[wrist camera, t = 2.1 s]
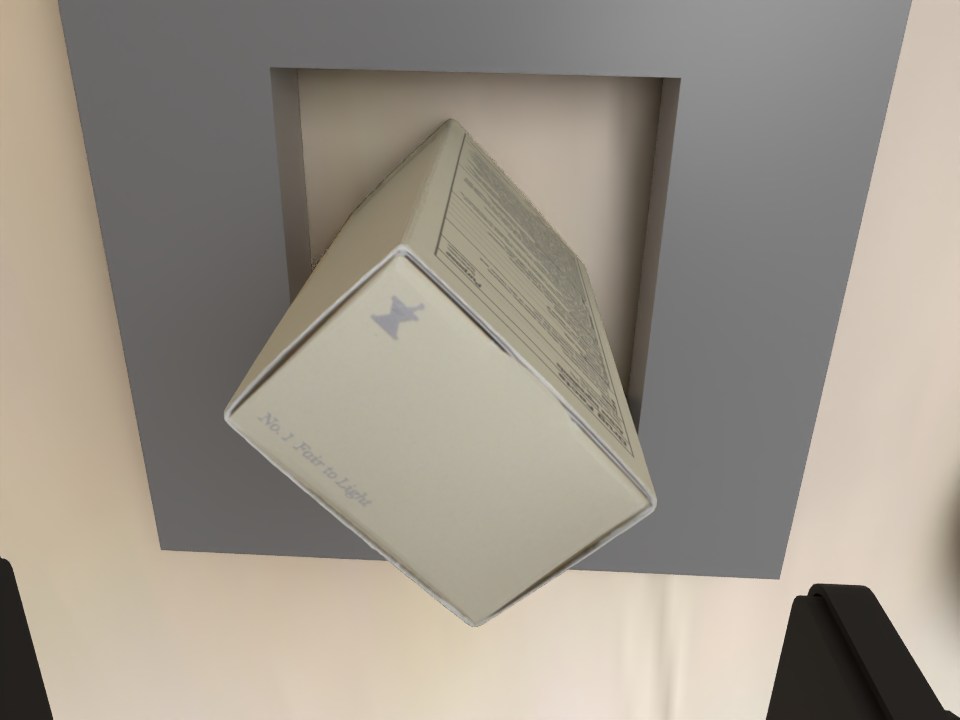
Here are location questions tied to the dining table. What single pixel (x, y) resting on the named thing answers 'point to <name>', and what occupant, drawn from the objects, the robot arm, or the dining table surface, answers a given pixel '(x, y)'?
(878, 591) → the dining table surface
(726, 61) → the socket block
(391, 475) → the skincare box
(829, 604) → the robot arm
